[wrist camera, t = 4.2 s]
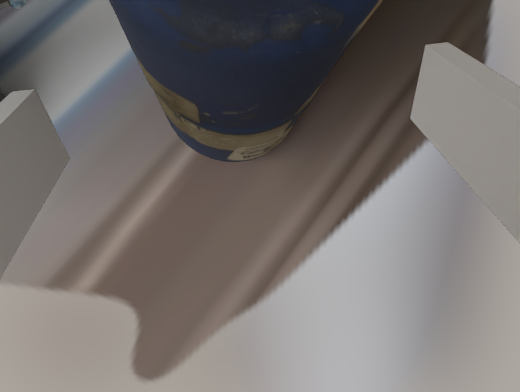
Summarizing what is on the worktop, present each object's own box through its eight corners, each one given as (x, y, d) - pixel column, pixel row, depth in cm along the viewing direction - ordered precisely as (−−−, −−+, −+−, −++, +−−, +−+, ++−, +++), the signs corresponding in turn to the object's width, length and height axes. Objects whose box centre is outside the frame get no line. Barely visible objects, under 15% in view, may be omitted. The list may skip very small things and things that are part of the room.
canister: (195, 19, 26) (136, -427, 8) (314, 69, 27) (493, -254, 9) (144, 137, 25) (-52, -97, 7) (270, 186, 26) (375, 81, 8)
